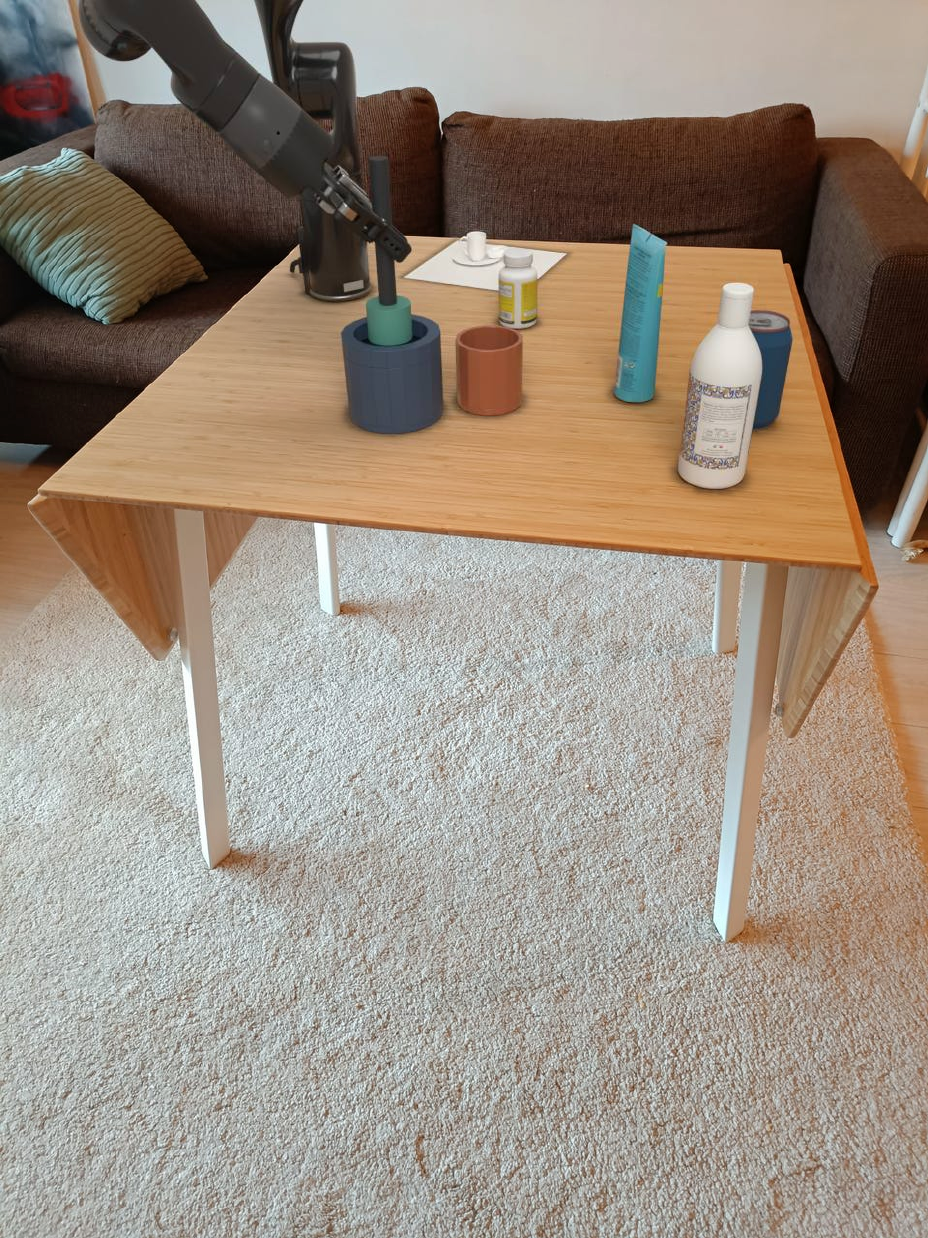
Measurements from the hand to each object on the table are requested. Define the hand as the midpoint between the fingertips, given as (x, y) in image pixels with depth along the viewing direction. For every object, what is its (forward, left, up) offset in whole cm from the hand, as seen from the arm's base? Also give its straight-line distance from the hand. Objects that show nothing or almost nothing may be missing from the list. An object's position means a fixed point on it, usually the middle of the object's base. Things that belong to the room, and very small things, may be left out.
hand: (403, 251), depth 107 cm
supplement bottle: (-1, +30, -19) cm, 36 cm away
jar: (-2, -1, -19) cm, 19 cm away
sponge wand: (-2, -1, -9) cm, 10 cm away
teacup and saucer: (-16, +50, -19) cm, 56 cm away
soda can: (+36, +14, -19) cm, 43 cm away
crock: (+7, +6, -19) cm, 21 cm away
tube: (+22, +15, -19) cm, 33 cm away
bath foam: (+36, 0, -19) cm, 41 cm away
